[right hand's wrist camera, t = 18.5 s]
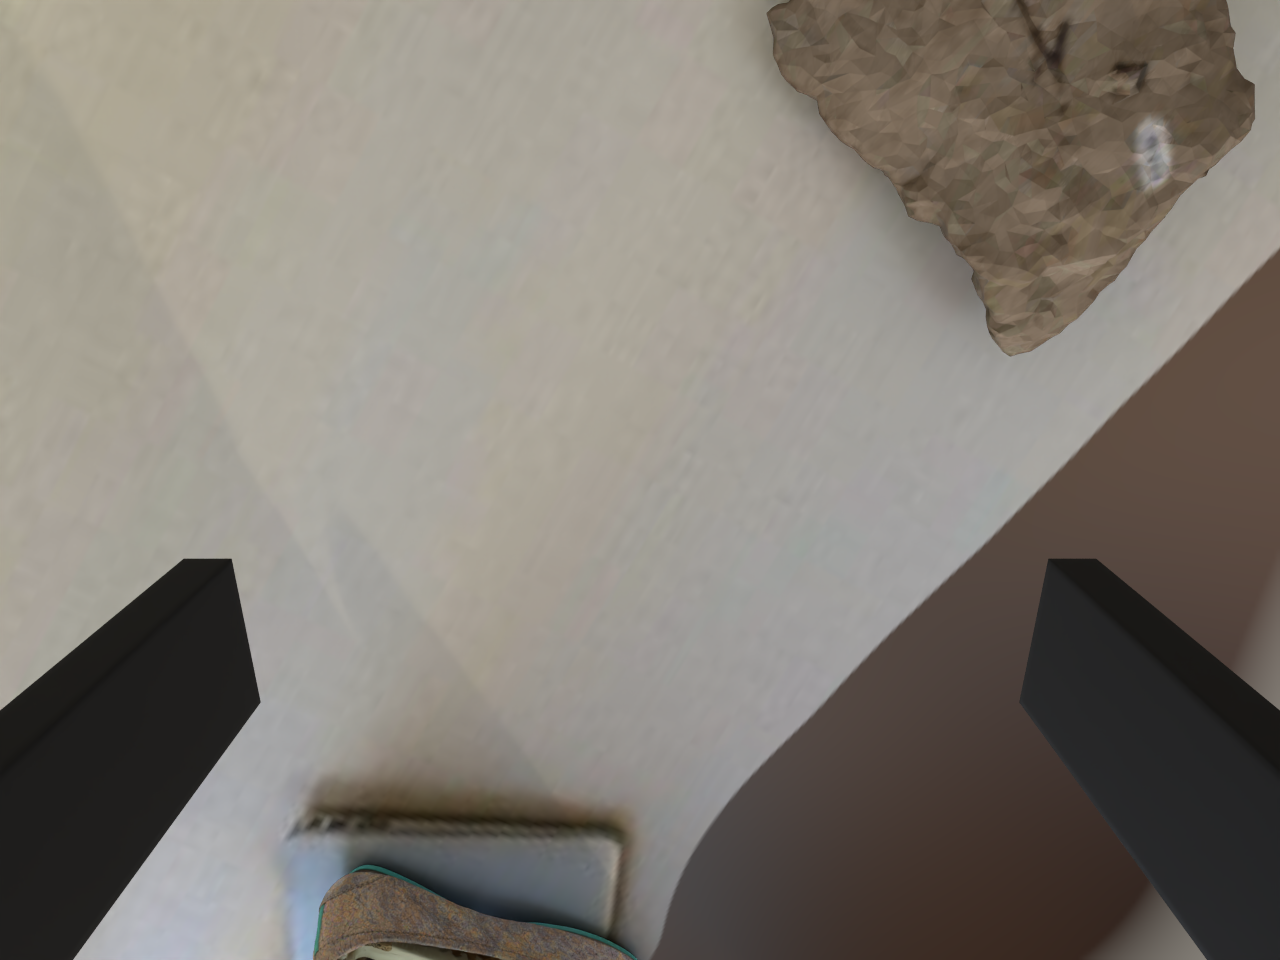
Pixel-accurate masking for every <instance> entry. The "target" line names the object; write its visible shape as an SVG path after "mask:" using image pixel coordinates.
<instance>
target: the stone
mask: <svg viewBox="0 0 1280 960" xmlns="http://www.w3.org/2000/svg"><path fill="white" fill-rule="evenodd" d="M767 16H768V20H769V23H770V26H771V30H772V33H773V37H774V44H773V56H774V58H775V60H776V62H777V64H778V67H779V69H780V72H781V74H782V76H783V77H784V78H785V80H786V81H787V82H788V83H790V84H791V85H792V86H793V87H794V88H795V89H796V90H797V91H798V92H800V93H803V94H806V95H808V96H810V97H812V98H813V99H815V100H817V103H818V109H819V114H820V115H821V117H822V118H823V120H824V121H825V123H826V124H827V126H828V127H829V128H830V130H831V131H832V133H834V134H835V135H836V136H837V137H838V139H839V140H840V141H842V142H843V143H844V144H846V145H848V146H849V147H851V148H853V149H854V150H855V151H856V152H857V153H858V154H859V155H860V156H861V157H862V159H863V160H864V161H865V162H867V163H868V164H869V165H871V166H872V167H873V168H877V169H881V170H882V171H883V172H884V174H885V175H886V176H887V177H888V178H889V179H890V180H891V182H892V183H893V185H894V186H895V188H896V189H897V191H898V194H899V196H900V197H901V199H902V201H903V203H904V205H905V208H906V210H907V213H908V216H909V217H911V218H913V219H915V220H917V221H923V222H928V223H932V224H935V225H938V226H940V228H941V230H942V233H943V235H944V236H945V238H946V239H947V240H948V241H949V242H950V243H951V244H952V246H953V248H954V250H955V252H956V254H957V255H958V256H960V257H962V258H964V259H965V260H966V261H967V262H968V263H969V264H970V266H971V267H972V268H973V269H974V273H973V276H972V282H973V284H974V287H975V289H976V292H977V294H978V296H979V297H980V299H981V300H982V301H983V303H984V306H985V308H986V321H987V327H988V330H989V333H990V335H991V337H992V339H993V340H994V341H995V342H996V343H997V345H998V346H999V347H1000V348H1001V350H1002V351H1003V352H1004V353H1006V354H1007V355H1009V356H1013V355H1016V354H1020V353H1025V352H1030V351H1032V350H1033V349H1035V348H1037V347H1038V346H1040V345H1041V344H1043V343H1044V342H1046V341H1047V340H1049V339H1050V338H1052V337H1053V336H1055V335H1057V334H1060V333H1061V332H1062V331H1063V329H1064V328H1065V327H1066V326H1067V325H1068V324H1069V323H1071V322H1073V321H1074V320H1076V319H1077V318H1078V317H1079V316H1080V315H1081V314H1082V313H1083V312H1084V311H1085V310H1086V309H1087V308H1088V307H1089V306H1090V305H1091V304H1092V303H1093V301H1094V300H1095V299H1096V297H1097V295H1098V294H1099V293H1100V292H1101V291H1102V290H1103V289H1104V288H1105V287H1106V286H1108V285H1109V284H1110V283H1112V282H1113V281H1115V279H1116V278H1117V276H1118V275H1119V273H1120V272H1121V271H1122V270H1123V269H1124V268H1125V267H1126V266H1127V265H1128V263H1129V261H1130V259H1131V257H1132V256H1133V254H1134V252H1135V250H1136V249H1137V248H1138V247H1139V246H1140V245H1141V244H1142V243H1143V242H1144V241H1145V240H1146V238H1147V237H1148V235H1149V234H1150V232H1151V231H1152V230H1153V229H1154V228H1155V227H1156V226H1157V225H1158V224H1159V223H1160V222H1161V221H1162V220H1163V219H1164V218H1165V216H1166V214H1167V213H1168V212H1169V211H1170V210H1171V209H1172V207H1173V206H1174V204H1175V202H1176V201H1177V199H1178V198H1179V196H1180V195H1181V194H1182V193H1183V192H1184V191H1185V190H1186V189H1187V188H1189V187H1190V186H1191V185H1192V184H1193V183H1194V182H1195V181H1196V180H1197V179H1198V178H1201V177H1204V176H1206V175H1207V172H1208V170H1209V169H1210V168H1211V167H1213V166H1214V165H1216V164H1217V163H1218V162H1219V160H1220V159H1221V158H1222V157H1223V156H1225V155H1226V154H1227V153H1228V152H1229V151H1230V150H1231V149H1232V148H1233V147H1235V146H1236V145H1237V144H1238V143H1240V142H1241V141H1242V140H1243V139H1244V137H1245V136H1246V135H1247V134H1248V133H1249V131H1250V130H1251V126H1252V123H1253V121H1254V120H1255V84H1253V83H1252V82H1250V81H1248V80H1246V79H1244V78H1243V76H1242V75H1241V74H1240V72H1239V71H1238V70H1237V67H1236V62H1235V56H1234V51H1233V46H1234V40H1235V34H1236V33H1235V32H1234V30H1233V29H1232V27H1231V25H1230V18H1229V10H1228V5H1227V2H1226V0H790V1H789V2H788V3H783V4H778V5H776V6H774V7H773V8H771V9H770V10H769V11H768V12H767Z"/></svg>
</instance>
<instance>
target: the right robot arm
mask: <svg viewBox="0 0 1280 960" xmlns="http://www.w3.org/2000/svg"><path fill="white" fill-rule="evenodd" d="M259 704H260V697H259V692H258V687H257V682H256V677H255V672H254V667H253V662H252V657H251V653H250V648H249V643H248V638H247V633H246V628H245V623H244V618H243V613H242V608H241V603H240V598H239V593H238V588H237V583H236V578H235V573H234V569H233V564H232V559H183V560H182V561H181V562H179V563H178V564H177V565H176V566H175V567H173V568H172V569H171V570H170V571H168V572H167V573H166V574H165V575H164V576H162V577H161V578H160V579H159V580H158V581H156V582H155V583H154V584H153V585H152V586H150V587H149V588H148V589H147V590H145V591H144V592H143V593H142V594H141V595H139V596H138V597H137V598H136V599H135V600H133V601H132V602H131V603H130V604H129V605H127V606H126V607H125V608H124V609H122V610H121V611H120V612H119V613H118V614H116V615H115V616H114V617H113V618H112V619H110V620H109V621H108V622H107V623H106V624H104V625H103V626H102V627H101V628H100V629H98V630H97V631H96V632H95V633H93V634H92V635H91V636H90V637H89V638H87V639H86V640H85V641H84V642H83V643H81V644H80V645H79V646H78V647H77V648H75V649H74V650H73V651H72V652H70V653H69V654H68V655H67V656H66V657H64V658H63V659H62V660H61V661H60V662H58V663H57V664H56V665H55V666H54V667H52V668H51V669H50V670H49V671H47V672H46V673H45V674H44V675H43V676H41V677H40V678H39V679H38V680H37V681H35V682H34V683H33V684H32V685H31V686H29V687H28V688H27V689H26V690H24V691H23V692H22V693H21V694H20V695H18V696H17V697H16V698H15V699H14V700H12V701H11V702H10V703H9V704H8V705H6V706H5V707H4V708H3V709H1V710H0V960H73V959H74V958H75V956H76V955H77V953H78V952H79V951H80V949H81V948H82V947H83V945H84V944H85V943H86V941H87V940H88V938H89V937H90V936H91V934H92V933H93V932H94V930H95V929H96V927H97V926H98V925H99V923H100V922H101V921H102V919H103V918H104V916H105V915H106V914H107V912H108V911H109V910H110V908H111V907H112V905H113V904H114V903H115V901H116V900H117V899H118V897H119V896H120V895H121V893H122V892H123V890H124V889H125V888H126V886H127V885H128V884H129V882H130V881H131V879H132V878H133V877H134V875H135V874H136V873H137V871H138V870H139V868H140V867H141V866H142V864H143V863H144V862H145V860H146V859H147V857H148V856H149V855H150V853H151V852H152V851H153V849H154V848H155V846H156V845H157V844H158V842H159V841H160V840H161V838H162V837H163V836H164V834H165V833H166V831H167V830H168V829H169V827H170V826H171V825H172V823H173V822H174V820H175V819H176V818H177V816H178V815H179V814H180V812H181V811H182V809H183V808H184V807H185V805H186V804H187V803H188V801H189V800H190V798H191V797H192V796H193V794H194V793H195V792H196V790H197V789H198V787H199V786H200V785H201V783H202V782H203V781H204V779H205V778H206V777H207V775H208V774H209V772H210V771H211V770H212V768H213V767H214V766H215V764H216V763H217V761H218V760H219V759H220V757H221V756H222V755H223V753H224V752H225V750H226V749H227V748H228V746H229V745H230V744H231V742H232V741H233V739H234V738H235V737H236V735H237V734H238V733H239V731H240V730H241V729H242V727H243V726H244V724H245V723H246V722H247V720H248V719H249V718H250V716H251V715H252V713H253V712H254V711H255V709H256V708H257V707H258V705H259ZM1020 704H1021V705H1022V706H1023V708H1024V709H1025V711H1026V712H1027V713H1028V715H1029V716H1030V717H1031V719H1032V720H1033V722H1034V723H1035V724H1036V726H1037V727H1038V729H1039V730H1040V731H1041V733H1042V734H1043V735H1044V737H1045V738H1046V739H1047V741H1048V742H1049V744H1050V745H1051V746H1052V748H1053V749H1054V750H1055V752H1056V753H1057V755H1058V756H1059V757H1060V759H1061V760H1062V761H1063V763H1064V764H1065V766H1066V767H1067V768H1068V770H1069V771H1070V772H1071V774H1072V775H1073V777H1074V778H1075V779H1076V781H1077V782H1078V783H1079V785H1080V786H1081V787H1082V789H1083V790H1084V792H1085V793H1086V794H1087V796H1088V797H1089V798H1090V800H1091V801H1092V803H1093V804H1094V805H1095V807H1096V808H1097V809H1098V811H1099V812H1100V814H1101V815H1102V816H1103V818H1104V819H1105V820H1106V822H1107V823H1108V825H1109V826H1110V827H1111V829H1112V830H1113V831H1114V833H1115V834H1116V835H1117V837H1118V838H1119V840H1120V841H1121V842H1122V844H1123V845H1124V846H1125V848H1126V849H1127V851H1128V852H1129V853H1130V855H1131V856H1132V857H1133V859H1134V860H1135V862H1136V863H1137V864H1138V866H1139V867H1140V868H1141V870H1142V871H1143V873H1144V874H1145V875H1146V877H1147V878H1148V879H1149V881H1150V882H1151V883H1152V885H1153V886H1154V888H1155V889H1156V890H1157V892H1158V893H1159V895H1160V896H1161V897H1162V899H1163V900H1164V901H1165V903H1166V904H1167V905H1168V907H1169V908H1170V910H1171V911H1172V912H1173V914H1174V915H1175V916H1176V918H1177V919H1178V921H1179V922H1180V923H1181V925H1182V926H1183V927H1184V929H1185V930H1186V931H1187V933H1188V934H1189V936H1190V937H1191V938H1192V940H1193V941H1194V942H1195V944H1196V945H1197V947H1198V948H1199V949H1200V951H1201V952H1202V953H1203V955H1204V956H1205V958H1206V959H1207V960H1280V710H1279V709H1277V708H1276V707H1275V706H1274V705H1272V704H1271V703H1270V702H1269V701H1268V700H1266V699H1265V698H1264V697H1263V696H1262V695H1260V694H1259V693H1258V692H1257V691H1256V690H1254V689H1253V688H1252V687H1251V686H1249V685H1248V684H1247V683H1246V682H1245V681H1243V680H1242V679H1241V678H1240V677H1239V676H1237V675H1236V674H1235V673H1234V672H1233V671H1231V670H1230V669H1229V668H1228V667H1226V666H1225V665H1224V664H1223V663H1222V662H1220V661H1219V660H1218V659H1217V658H1216V657H1214V656H1213V655H1212V654H1211V653H1210V652H1208V651H1207V650H1206V649H1205V648H1203V647H1202V646H1201V645H1200V644H1199V643H1197V642H1196V641H1195V640H1194V639H1192V638H1191V637H1190V636H1189V635H1188V634H1187V633H1185V632H1184V631H1183V630H1182V629H1180V628H1179V627H1178V626H1177V625H1176V624H1174V623H1173V622H1172V621H1171V620H1170V619H1168V618H1167V617H1166V616H1165V615H1164V614H1162V613H1161V612H1160V611H1159V610H1157V609H1156V608H1155V607H1154V606H1153V605H1151V604H1150V603H1149V602H1148V601H1147V600H1145V599H1144V598H1143V597H1142V596H1141V595H1139V594H1138V593H1137V592H1136V591H1135V590H1133V589H1132V588H1131V587H1130V586H1128V585H1127V584H1126V583H1125V582H1124V581H1122V580H1121V579H1120V578H1119V577H1118V576H1116V575H1115V574H1114V573H1113V572H1112V571H1110V570H1109V569H1108V568H1107V567H1105V566H1104V565H1103V564H1102V563H1101V562H1099V561H1098V560H1097V559H1048V564H1047V569H1046V574H1045V579H1044V583H1043V588H1042V593H1041V598H1040V603H1039V608H1038V613H1037V618H1036V623H1035V628H1034V633H1033V638H1032V643H1031V648H1030V653H1029V658H1028V662H1027V667H1026V672H1025V677H1024V682H1023V687H1022V692H1021V697H1020Z"/></svg>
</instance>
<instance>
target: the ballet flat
mask: <svg viewBox="0 0 1280 960" xmlns="http://www.w3.org/2000/svg"><path fill="white" fill-rule="evenodd" d="M313 960H637V959H636V957H635V956H633V955H632V954H631V953H630V952H628V951H627V950H625V949H624V948H622V947H620V946H618V945H616V944H614V943H613V942H611V941H609V940H606V939H604V938H602V937H599V936H597V935H594V934H591V933H588V932H585V931H582V930H578V929H574V928H570V927H566V926H559V925H553V924H545V923H536V922H527V923H525V922H517V921H513V920H506V919H500V918H497V917H493V916H490V915H486V914H483V913H480V912H477V911H475V910H472V909H469V908H465V907H462V906H460V905H457V904H455V903H453V902H451V901H449V900H447V899H445V898H443V897H441V896H440V895H438V894H436V893H434V892H432V891H431V890H429V889H427V888H425V887H423V886H421V885H420V884H418V883H416V882H414V881H412V880H410V879H408V878H405V877H403V876H401V875H399V874H397V873H395V872H392V871H390V870H387V869H385V868H382V867H379V866H374V865H363V866H359V867H357V868H356V869H354V870H353V871H351V872H350V873H349V874H347V875H345V876H344V877H342V878H340V879H339V880H338V881H337V882H336V883H334V884H333V885H332V886H331V888H330V889H329V890H328V892H327V893H326V895H325V897H324V898H323V901H322V903H321V905H320V908H319V918H318V928H317V936H316V940H315V946H314V952H313Z"/></svg>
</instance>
